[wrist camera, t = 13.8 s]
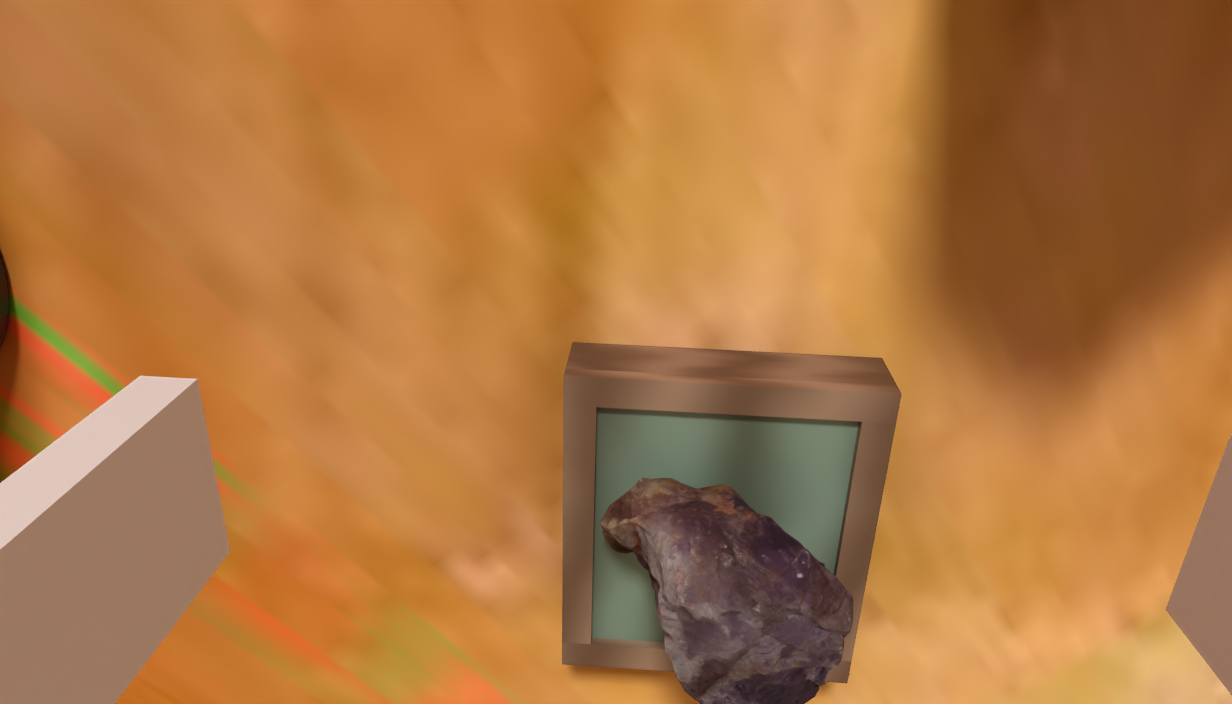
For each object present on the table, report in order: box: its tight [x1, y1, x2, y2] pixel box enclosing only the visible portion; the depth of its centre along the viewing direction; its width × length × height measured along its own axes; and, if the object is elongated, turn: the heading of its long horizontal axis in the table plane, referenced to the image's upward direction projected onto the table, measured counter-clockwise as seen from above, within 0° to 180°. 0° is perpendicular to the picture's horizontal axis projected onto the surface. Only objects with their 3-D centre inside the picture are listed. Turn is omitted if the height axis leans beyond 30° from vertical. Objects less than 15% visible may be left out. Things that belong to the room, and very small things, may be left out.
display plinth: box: [562, 342, 901, 683], centre depth 43 cm, size 15×17×4 cm
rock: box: [600, 478, 853, 704], centre depth 38 cm, size 12×9×10 cm
